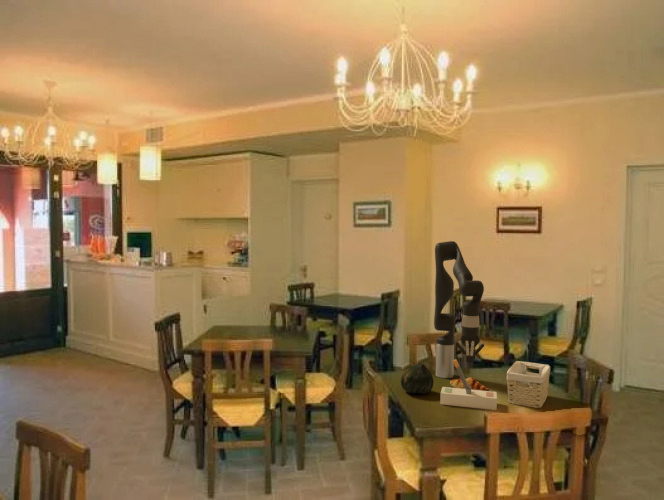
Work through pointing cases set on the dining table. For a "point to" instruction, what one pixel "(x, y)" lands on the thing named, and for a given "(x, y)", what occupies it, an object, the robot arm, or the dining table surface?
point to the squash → (417, 379)
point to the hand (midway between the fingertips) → (469, 363)
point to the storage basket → (528, 384)
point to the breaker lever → (461, 374)
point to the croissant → (471, 383)
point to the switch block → (468, 398)
